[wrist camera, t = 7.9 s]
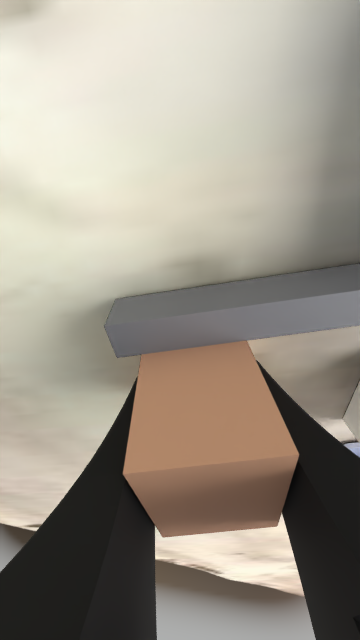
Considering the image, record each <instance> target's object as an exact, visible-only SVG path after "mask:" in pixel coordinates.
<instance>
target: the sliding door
mask: <svg viewBox="0 0 360 640" xmlns="http://www.w3.org/2000/svg"><path fill="white" fill-rule="evenodd" d="M359 325H360V263H359V264H352V265H345V266H338V267H332V268H325V269H318V270H311V271H304V272H297V273H291V274H284V275H277V276H270V277H263V278H256V279H250V280H243V281H236V282H229V283H222V284H215V285H208V286H202V287H195V288H188V289H181V290H174V291H167V292H161V293H154V294H147V295H140V296H133V297H126V298H119V299H116V300H115V302H114V304H113V307H112V309H111V311H110V314H109V316H108V318H107V321H106V323H105V325H104V327H105V330H106V332H107V335H108V337H109V340H110V342H111V345H112V347H113V349H114V352H115V354H116V357H117V358H119V357H127V356H134V355H142V354H149V353H157V352H164V351H172V350H179V349H186V348H194V347H201V346H209V345H216V344H224V343H231V342H239V341H246V340H254V339H261V338H269V337H276V336H284V335H291V334H299V333H306V332H314V331H321V330H329V329H336V328H344V327H351V326H359Z"/></svg>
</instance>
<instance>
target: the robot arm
mask: <svg viewBox="0 0 360 640" xmlns="http://www.w3.org/2000/svg"><path fill="white" fill-rule="evenodd" d="M256 362H257V364H258V366H259V368H260V371H261V373H262V375H263V377H264V379H265V381H266V384H267V386H268V388H269V390H270V392H271V394H272V397H273V399H274V401H275V403H276V405H277V407H278V410H279V412H280V414H281V416H282V418H283V420H284V423H285V425H286V427H287V429H288V431H289V433H290V436H291V438H292V440H293V442H294V444H295V446H296V449H297V451H298V453H299V457H298V460H297V464H296V467H295V470H294V473H293V477H292V480H291V483H290V487H289V490H288V493H287V496H286V500H285V503H284V506H283V509H282V514H283V518H284V521H285V525H286V528H287V532H288V535H289V539H290V543H291V546H292V550H293V554H294V557H295V561H296V565H297V568H298V572H299V576H300V579H301V583H302V587H303V591H304V595H305V599H306V602H307V606H308V610H309V614H310V618H311V622H312V626H313V630H314V634H315V638H316V640H360V443H359V442H356V443H347V444H342V443H341V442H339V441H338V440H337V439H336V438H335V437H333V436H332V435H331V434H330V433H329V432H327V431H326V430H325V429H324V428H323V427H322V426H321V425H319V424H318V423H317V422H316V421H315V420H314V419H313V418H312V417H311V416H309V415H308V414H307V413H306V412H305V411H304V410H303V409H302V408H301V407H300V406H299V405H298V404H297V403H296V402H295V401H294V400H293V399H292V398H291V397H290V396H289V395H288V394H287V393H286V392H285V391H284V390H283V389H282V388H281V387H280V386H279V385H278V384H277V383H276V381H275V380H274V379H273V378H272V377H271V376H270V375H269V374H268V373H267V371H266V370H265V369H264V368H263V367H262V366H261V364H260V363H259V362H258V361H257V360H256ZM137 380H138V377H137V378H136V380H135V382H134V384H133V387H132V389H131V391H130V393H129V395H128V397H127V399H126V401H125V403H124V405H123V407H122V409H121V411H120V412H119V414H118V416H117V418H116V420H115V422H114V424H113V425H112V427H111V429H110V430H109V432H108V434H107V435H106V437H105V439H104V440H103V442H102V444H101V445H100V447H99V448H98V450H97V452H96V453H95V455H94V456H93V458H92V459H91V461H90V462H89V464H88V465H87V466H86V468H85V469H84V471H83V472H82V474H81V475H80V476H79V478H78V479H77V480H76V482H75V483H74V485H73V486H72V487H71V489H70V490H69V491H68V493H67V494H66V495H65V497H64V498H63V499H62V500H61V502H60V503H59V504H58V506H57V507H56V508H55V509H54V511H53V512H52V513H51V514H50V515H49V517H48V518H47V519H46V520H45V521H44V523H43V524H42V525H41V526H40V527H39V529H38V530H37V531H36V532H35V534H34V535H33V536H32V537H31V539H30V540H29V541H28V542H27V543H26V544H25V545H24V547H23V548H22V549H21V550H20V551H19V552H18V553H17V554H16V556H15V557H14V558H13V559H12V560H11V561H10V562H9V563H8V564H7V565H6V567H5V568H4V569H3V570H2V571H1V572H0V640H157V635H156V633H157V632H156V594H155V524H154V523H153V521H152V520H151V518H150V516H149V515H148V513H147V512H146V510H145V508H144V507H143V505H142V504H141V502H140V501H139V499H138V497H137V496H136V494H135V493H134V491H133V489H132V488H131V486H130V485H129V483H128V481H127V480H126V478H125V477H124V475H123V470H124V463H125V457H126V451H127V444H128V438H129V431H130V425H131V419H132V412H133V406H134V399H135V393H136V386H137Z"/></svg>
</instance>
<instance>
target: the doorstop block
mask: <svg viewBox="0 0 360 640" xmlns="http://www.w3.org/2000/svg"><path fill="white" fill-rule="evenodd" d="M298 457H299V453H298V451H297V449H296V446H295V444H294V442H293V440H292V438H291V436H290V433H289V431H288V429H287V427H286V425H285V423H284V420H283V418H282V416H281V414H280V412H279V410H278V407H277V405H276V403H275V401H274V399H273V397H272V394H271V392H270V390H269V388H268V386H267V384H266V381H265V379H264V377H263V375H262V373H261V371H260V368H259V366H258V364H257V362H256V360H255V358H254V355H253V353H252V351H251V349H250V347H249V345H248V342H247V340H246V341H239V342H231V343H224V344H216V345H209V346H201V347H194V348H186V349H179V350H172V351H164V352H157V353H149V354H142V355H141V361H140V367H139V374H138V380H137V386H136V393H135V399H134V406H133V412H132V419H131V425H130V431H129V438H128V444H127V451H126V457H125V463H124V470H123V475H124V477H125V478H126V480H127V481H128V483H129V485H130V486H131V488H132V489H133V491H134V493H135V494H136V496H137V497H138V499H139V501H140V502H141V504H142V505H143V507H144V508H145V510H146V512H147V513H148V515H149V516H150V518H151V520H152V521H153V523H154V524H155V526H156V527H157V529H158V531H159V532H160V534H161V535H162V537H172V536H183V535H193V534H204V533H214V532H224V531H235V530H245V529H256V528H266V527H276V526H278V522H279V519H280V516H281V513H282V509H283V506H284V503H285V500H286V496H287V493H288V490H289V487H290V483H291V480H292V477H293V473H294V470H295V467H296V464H297V460H298Z"/></svg>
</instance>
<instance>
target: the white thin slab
mask: <svg viewBox="0 0 360 640" xmlns="http://www.w3.org/2000/svg"><path fill="white" fill-rule="evenodd" d="M343 421H344V422H345V423H346V425H347V426H348V428H349V429H350V431H351V432H352V433H353V435H354V436H355V438H356V439H357V441H358V442H359V443H360V381H359V384H358V386H357V388H356V390H355V392H354V395H353V397H352V399H351V401H350V404H349V406H348V408H347V410H346V413H345V415H344V417H343Z"/></svg>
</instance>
